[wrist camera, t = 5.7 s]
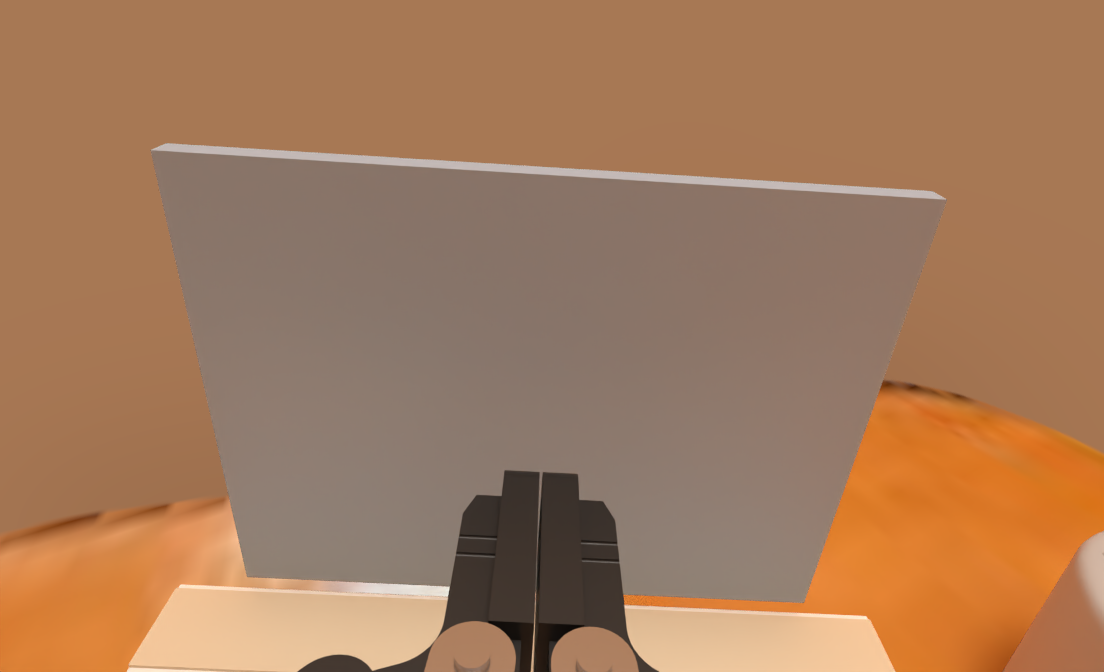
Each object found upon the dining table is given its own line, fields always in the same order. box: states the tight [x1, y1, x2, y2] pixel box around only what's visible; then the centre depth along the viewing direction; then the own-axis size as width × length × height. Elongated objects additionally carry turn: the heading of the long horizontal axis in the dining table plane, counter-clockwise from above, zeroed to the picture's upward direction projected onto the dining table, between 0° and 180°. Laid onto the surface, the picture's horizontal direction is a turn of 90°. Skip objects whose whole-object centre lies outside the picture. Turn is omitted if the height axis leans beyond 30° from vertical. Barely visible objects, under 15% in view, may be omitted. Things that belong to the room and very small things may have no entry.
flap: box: [151, 143, 947, 603], centre depth 16 cm, size 16×1×12 cm, turn 90°
